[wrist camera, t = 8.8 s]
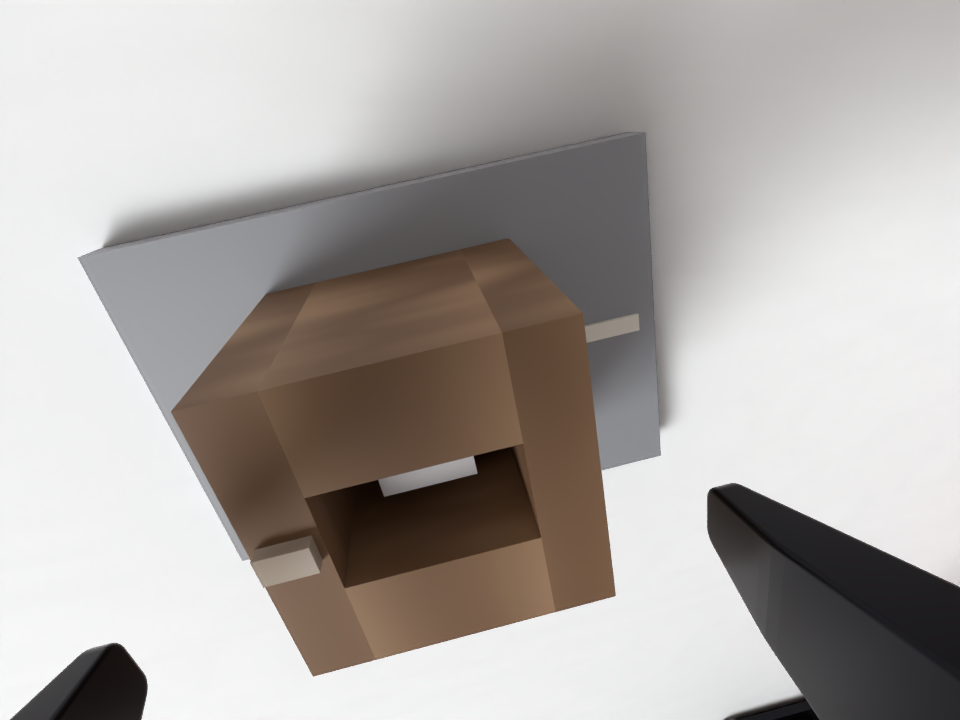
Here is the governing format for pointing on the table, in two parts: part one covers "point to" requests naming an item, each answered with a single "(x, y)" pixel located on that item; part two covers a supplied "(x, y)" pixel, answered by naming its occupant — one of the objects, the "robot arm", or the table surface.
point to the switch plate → (405, 237)
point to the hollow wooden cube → (408, 453)
